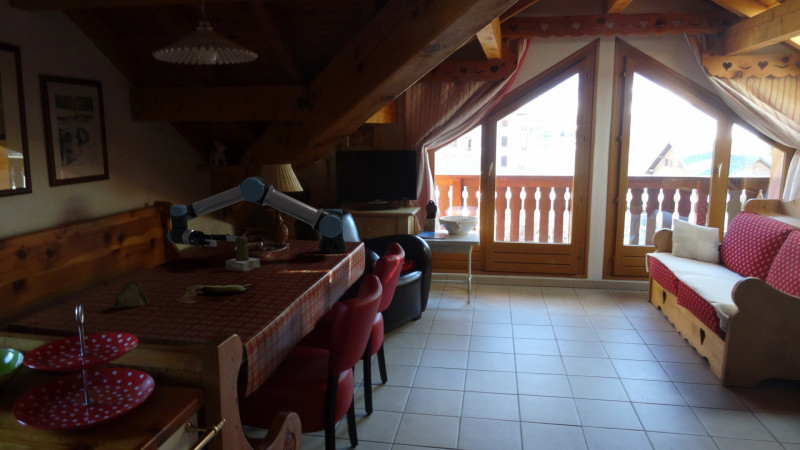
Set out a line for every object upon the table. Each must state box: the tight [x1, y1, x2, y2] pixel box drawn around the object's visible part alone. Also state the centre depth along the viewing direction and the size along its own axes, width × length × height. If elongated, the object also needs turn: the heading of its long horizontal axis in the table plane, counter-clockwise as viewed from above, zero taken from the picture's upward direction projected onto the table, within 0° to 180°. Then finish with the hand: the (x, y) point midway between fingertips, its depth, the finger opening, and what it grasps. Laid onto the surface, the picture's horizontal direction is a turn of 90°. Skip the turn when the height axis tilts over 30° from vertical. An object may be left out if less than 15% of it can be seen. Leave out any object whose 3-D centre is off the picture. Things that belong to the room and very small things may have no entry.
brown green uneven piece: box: [175, 283, 252, 304], centre depth 212 cm, size 35×27×4 cm
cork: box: [235, 235, 249, 261], centre depth 253 cm, size 6×6×11 cm
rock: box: [112, 280, 150, 309], centre depth 196 cm, size 11×9×10 cm
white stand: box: [225, 256, 261, 273], centre depth 254 cm, size 11×11×4 cm
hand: (226, 241), depth 257 cm, fingers open, 13 cm apart
